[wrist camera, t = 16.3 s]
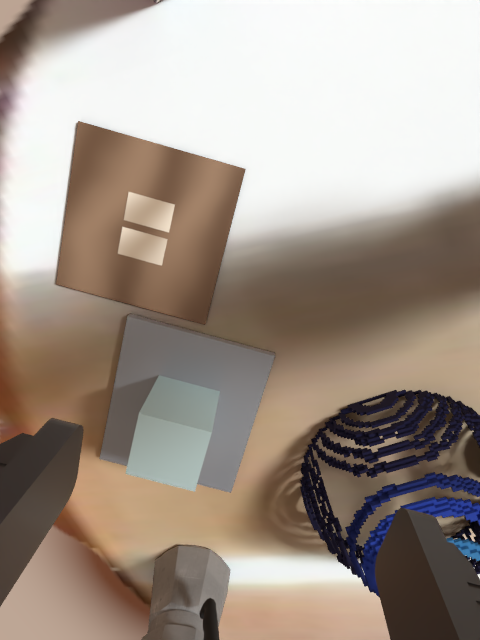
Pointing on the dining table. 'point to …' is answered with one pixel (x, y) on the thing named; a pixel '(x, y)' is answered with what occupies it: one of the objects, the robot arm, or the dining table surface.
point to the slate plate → (195, 368)
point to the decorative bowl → (431, 506)
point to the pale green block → (173, 433)
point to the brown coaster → (146, 223)
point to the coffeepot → (187, 594)
